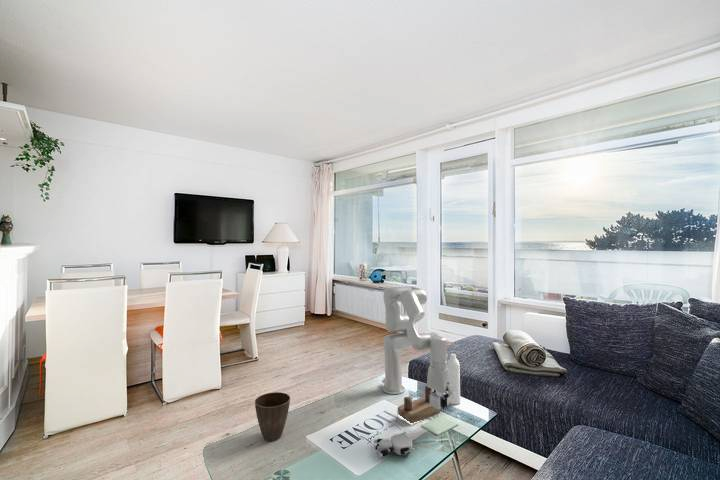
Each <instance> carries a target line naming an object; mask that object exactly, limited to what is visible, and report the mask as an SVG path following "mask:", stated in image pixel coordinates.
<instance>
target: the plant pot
mask: <svg viewBox="0 0 720 480" xmlns="http://www.w3.org/2000/svg"><path fill="white" fill-rule="evenodd" d="M290 402H291V396H290V395H289V394H288V393H284V392H281V391H280V392H277V391H276V392H275V391H274V392H268V393H263V394H261V395H259V396H257V398H256V399H254V407H255V413H256V414H255V415H256V418H257V423H258V427H259V429H260V433H261V435H262V438H263V440H264V441H266V442H275V441H278V440H279V439H280V438H282V435H283V431H284V429H285V426H286V423H287V419H288V415H289V409H290V404H291V403H290Z"/></svg>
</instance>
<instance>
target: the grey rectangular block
mask: <svg viewBox="0 0 720 480" xmlns="http://www.w3.org/2000/svg"><path fill="white" fill-rule="evenodd" d="M444 395H445V393H444ZM441 399H442V394H441V393H440V392H438V391H436V392H435V393H432V394H430V406H432V407H434V408H436V409H440V410H441V409H443V408H442V404H441ZM449 404H450V403H449V397H448V398H447V407H448V406H450V405H449Z"/></svg>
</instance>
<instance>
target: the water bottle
mask: <svg viewBox="0 0 720 480" xmlns="http://www.w3.org/2000/svg"><path fill="white" fill-rule="evenodd" d="M447 369H448V371H449V377H450V388H451V390H452V392H453V394H452V395H450V396H449V404H450V405H460V404H461V374H460V373H461V366H460V361H459V360H458V359H457V354H456V353H450V357H449V358H448V359H447ZM447 393H448V391H447Z"/></svg>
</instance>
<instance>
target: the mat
mask: <svg viewBox="0 0 720 480" xmlns="http://www.w3.org/2000/svg"><path fill="white" fill-rule="evenodd" d="M421 426H422V427H421ZM458 426H459V423H457V422H455V421H453V420H451V419H450V418H449V419H448V418H447V417H444V416H443V415H439V416H438V417H434V418H433V419H430V420H428V421H426V422H424V423H422V424H420V427H421V428H423V427H424V428H423V429H425V430H427V431H429V432H430V433H431V434H434V435H435V436H440V435H442V434H444V433H446V432H448V431H450V430H453V429H454V428H456V427H458Z"/></svg>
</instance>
